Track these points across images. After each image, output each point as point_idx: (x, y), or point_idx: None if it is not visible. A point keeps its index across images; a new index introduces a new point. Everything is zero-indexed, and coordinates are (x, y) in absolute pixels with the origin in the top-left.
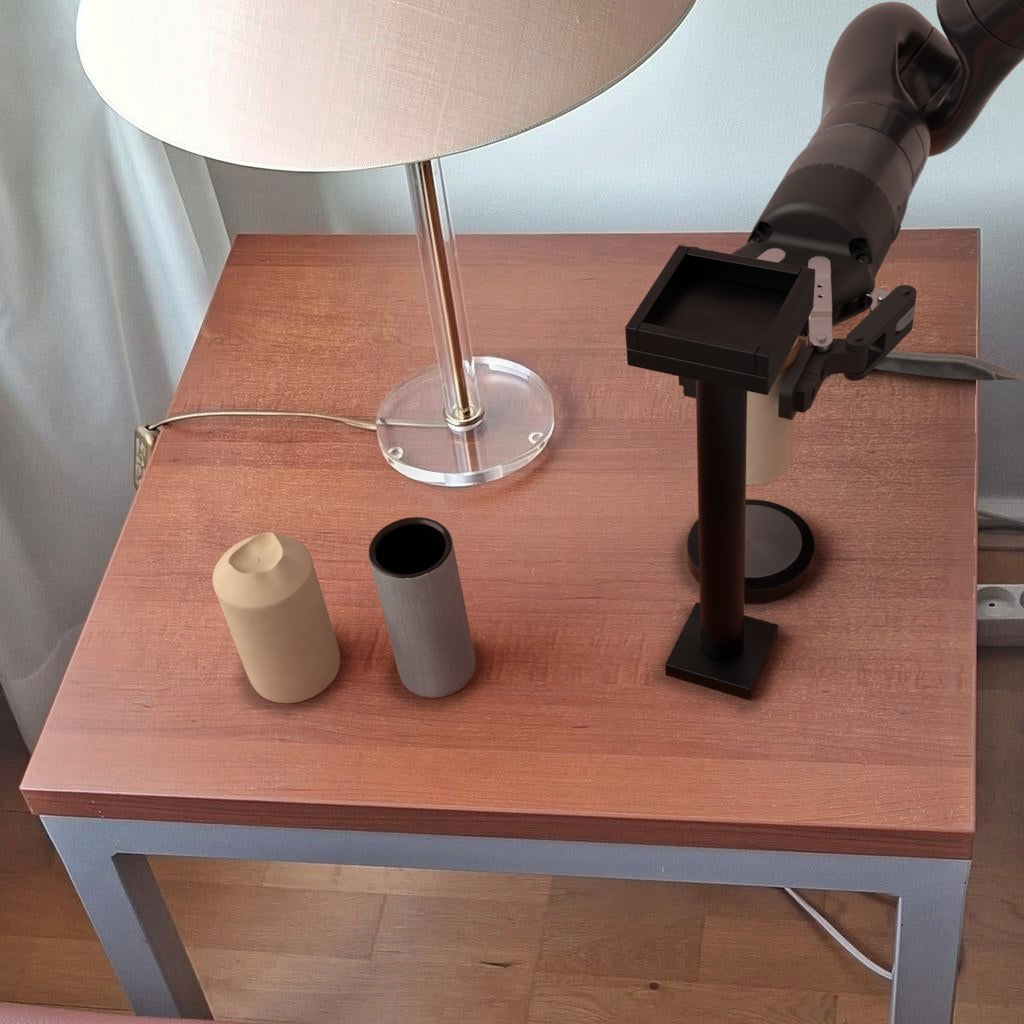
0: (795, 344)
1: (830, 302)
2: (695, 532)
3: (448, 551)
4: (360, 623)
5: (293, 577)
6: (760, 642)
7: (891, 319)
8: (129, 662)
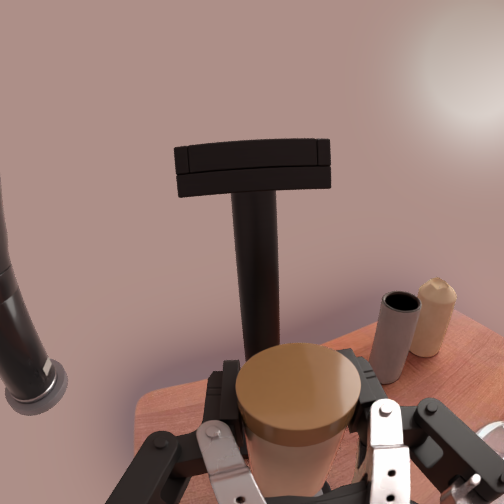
0: (236, 382)
1: (216, 490)
2: (327, 491)
3: (386, 304)
4: (426, 368)
5: (424, 291)
6: (245, 441)
7: (117, 487)
8: (456, 321)
